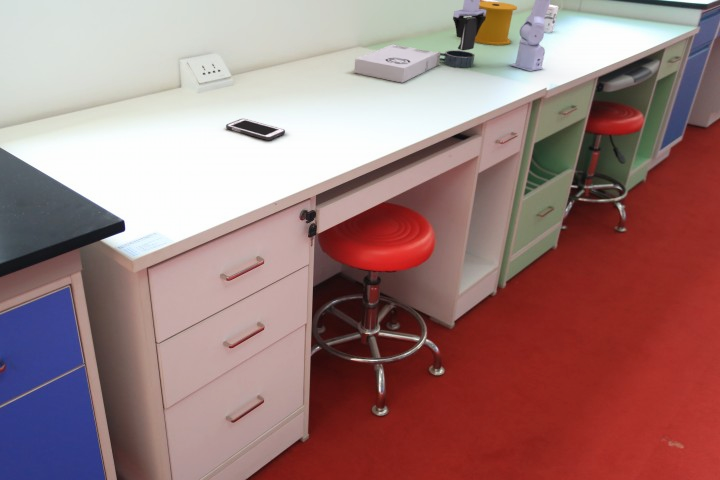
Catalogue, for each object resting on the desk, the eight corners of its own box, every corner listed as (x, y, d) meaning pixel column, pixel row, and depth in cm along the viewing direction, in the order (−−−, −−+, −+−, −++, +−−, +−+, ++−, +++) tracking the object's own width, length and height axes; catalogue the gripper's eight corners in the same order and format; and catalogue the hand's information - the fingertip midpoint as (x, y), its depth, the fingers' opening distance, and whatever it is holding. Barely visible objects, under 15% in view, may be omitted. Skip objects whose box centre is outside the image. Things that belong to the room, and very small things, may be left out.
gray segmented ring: (473, 62, 261) (475, 52, 259) (472, 69, 252) (474, 58, 250) (437, 58, 263) (439, 48, 261) (435, 65, 254) (436, 54, 252)
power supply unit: (439, 65, 254) (440, 51, 252) (402, 83, 229) (404, 68, 227) (393, 56, 262) (395, 43, 259) (353, 73, 237) (354, 58, 235)
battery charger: (466, 47, 257) (471, 15, 252) (474, 49, 255) (479, 17, 249) (454, 49, 253) (459, 17, 247) (462, 51, 251) (467, 19, 245)
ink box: (532, 30, 324) (537, 4, 318) (537, 28, 328) (542, 3, 322) (548, 33, 320) (554, 7, 314) (553, 32, 323) (559, 6, 317)
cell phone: (268, 141, 174) (268, 137, 173) (224, 128, 180) (224, 124, 180) (286, 133, 179) (286, 130, 179) (242, 121, 186) (242, 118, 185)
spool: (513, 39, 302) (520, 4, 294) (505, 47, 288) (512, 10, 280) (474, 34, 308) (480, -1, 300) (464, 41, 294) (470, 4, 286)
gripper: (465, 0, 238) (459, 40, 245) (494, -2, 246) (488, 37, 253) (451, -3, 243) (446, 36, 250) (480, -5, 251) (474, 33, 258)
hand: (466, 36), depth 252 cm, fingers closed on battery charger, 7 cm apart
